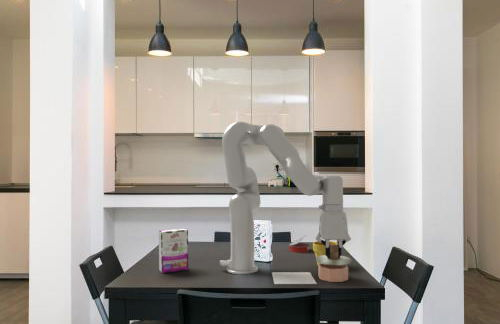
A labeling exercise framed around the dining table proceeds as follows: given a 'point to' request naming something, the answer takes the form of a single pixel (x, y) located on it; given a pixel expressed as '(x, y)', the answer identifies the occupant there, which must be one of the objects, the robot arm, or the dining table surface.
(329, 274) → the bowl
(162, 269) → the candy bar box
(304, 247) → the canned food
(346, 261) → the lid
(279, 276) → the square white plate
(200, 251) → the dining table surface
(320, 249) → the plant pot
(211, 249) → the dining table surface
